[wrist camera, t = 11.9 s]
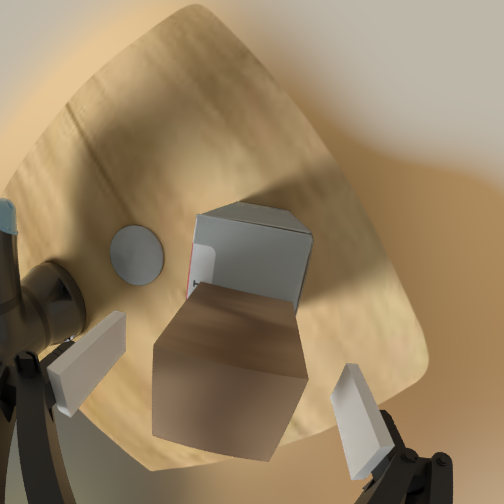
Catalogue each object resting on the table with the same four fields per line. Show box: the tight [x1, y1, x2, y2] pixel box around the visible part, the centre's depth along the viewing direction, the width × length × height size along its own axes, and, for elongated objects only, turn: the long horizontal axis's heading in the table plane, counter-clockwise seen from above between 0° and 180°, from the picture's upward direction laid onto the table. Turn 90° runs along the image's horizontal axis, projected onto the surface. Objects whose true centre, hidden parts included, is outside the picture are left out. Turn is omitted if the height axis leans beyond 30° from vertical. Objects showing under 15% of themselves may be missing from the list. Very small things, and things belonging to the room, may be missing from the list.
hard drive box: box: [186, 202, 314, 316], centre depth 28 cm, size 16×8×20 cm, turn 170°
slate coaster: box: [110, 225, 163, 285], centre depth 38 cm, size 9×9×1 cm
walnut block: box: [152, 281, 309, 462], centre depth 14 cm, size 6×6×8 cm
